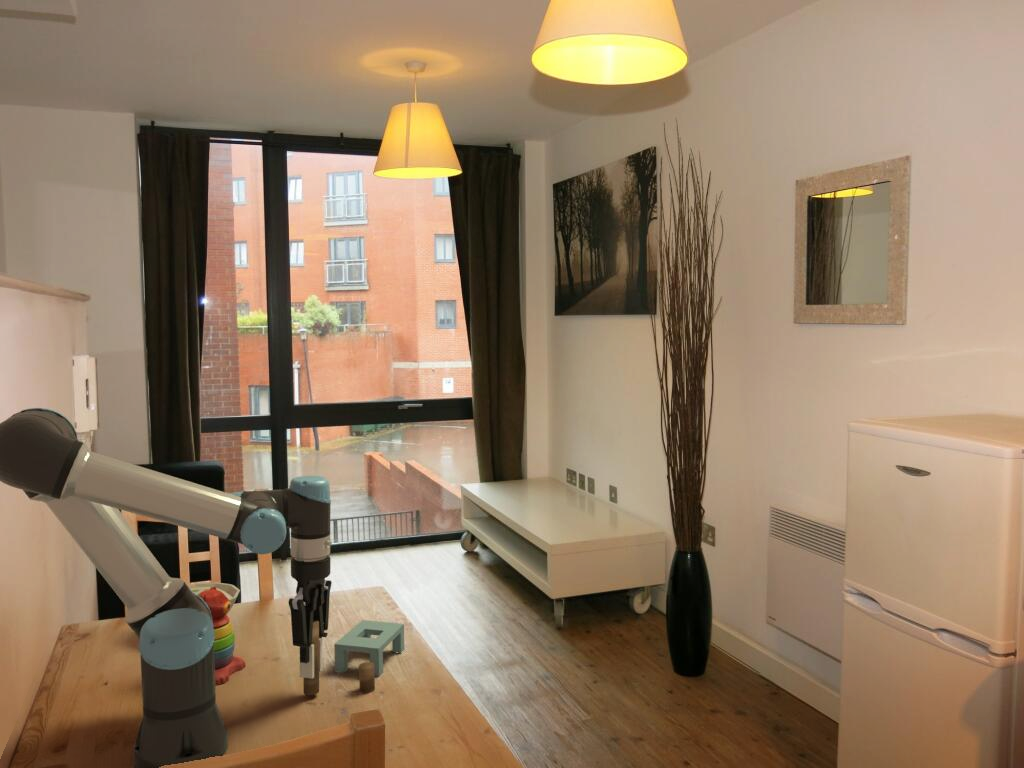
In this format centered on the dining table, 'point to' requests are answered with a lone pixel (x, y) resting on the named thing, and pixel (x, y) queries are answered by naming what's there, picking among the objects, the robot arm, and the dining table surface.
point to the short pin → (367, 677)
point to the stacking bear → (222, 635)
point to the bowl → (226, 589)
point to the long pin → (313, 684)
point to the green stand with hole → (369, 643)
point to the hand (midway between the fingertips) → (311, 673)
